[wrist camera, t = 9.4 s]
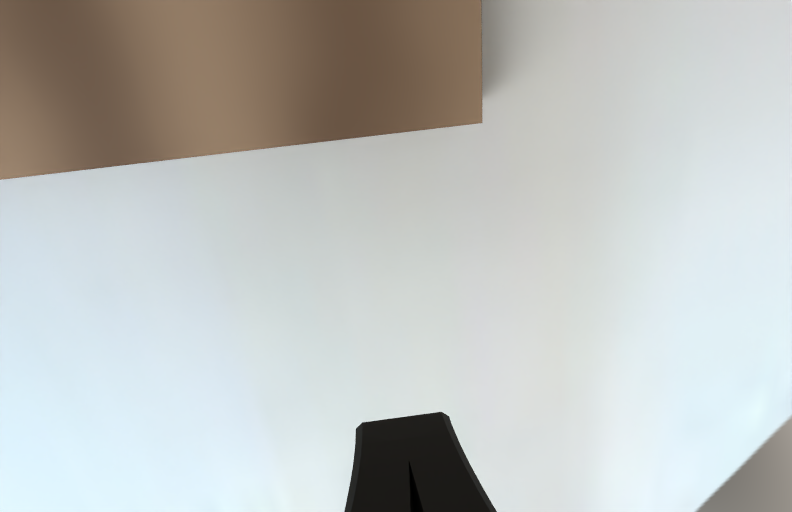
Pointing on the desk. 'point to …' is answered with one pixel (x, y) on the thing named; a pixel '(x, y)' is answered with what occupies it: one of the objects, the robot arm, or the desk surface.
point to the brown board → (225, 76)
